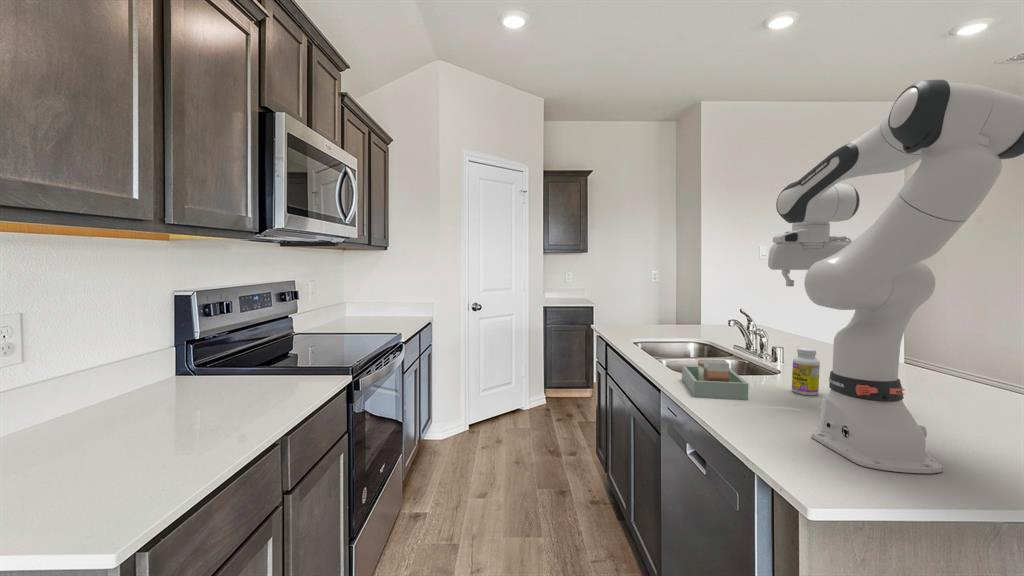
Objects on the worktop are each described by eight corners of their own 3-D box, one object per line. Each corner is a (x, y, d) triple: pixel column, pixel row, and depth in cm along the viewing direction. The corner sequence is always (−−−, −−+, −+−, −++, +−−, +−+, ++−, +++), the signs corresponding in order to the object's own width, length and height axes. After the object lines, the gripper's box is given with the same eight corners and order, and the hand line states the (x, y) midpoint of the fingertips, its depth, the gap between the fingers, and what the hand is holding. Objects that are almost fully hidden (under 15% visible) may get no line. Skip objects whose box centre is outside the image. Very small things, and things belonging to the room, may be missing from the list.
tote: (747, 402, 129) (748, 383, 128) (693, 399, 131) (693, 381, 131) (728, 383, 148) (729, 367, 148) (681, 381, 151) (682, 365, 150)
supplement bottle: (786, 390, 140) (787, 347, 139) (803, 389, 142) (805, 346, 141) (806, 396, 134) (808, 351, 133) (824, 395, 135) (825, 350, 135)
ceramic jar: (722, 387, 141) (723, 364, 140) (699, 386, 142) (700, 363, 142) (717, 382, 147) (717, 360, 147) (695, 381, 148) (695, 359, 148)
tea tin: (723, 390, 138) (724, 359, 137) (728, 395, 132) (729, 363, 132) (703, 389, 139) (703, 359, 138) (707, 394, 133) (708, 363, 133)
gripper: (846, 236, 132) (844, 286, 133) (766, 237, 136) (765, 285, 136) (858, 235, 126) (856, 287, 126) (774, 236, 130) (772, 286, 130)
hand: (808, 286), depth 131 cm, fingers open, 8 cm apart
